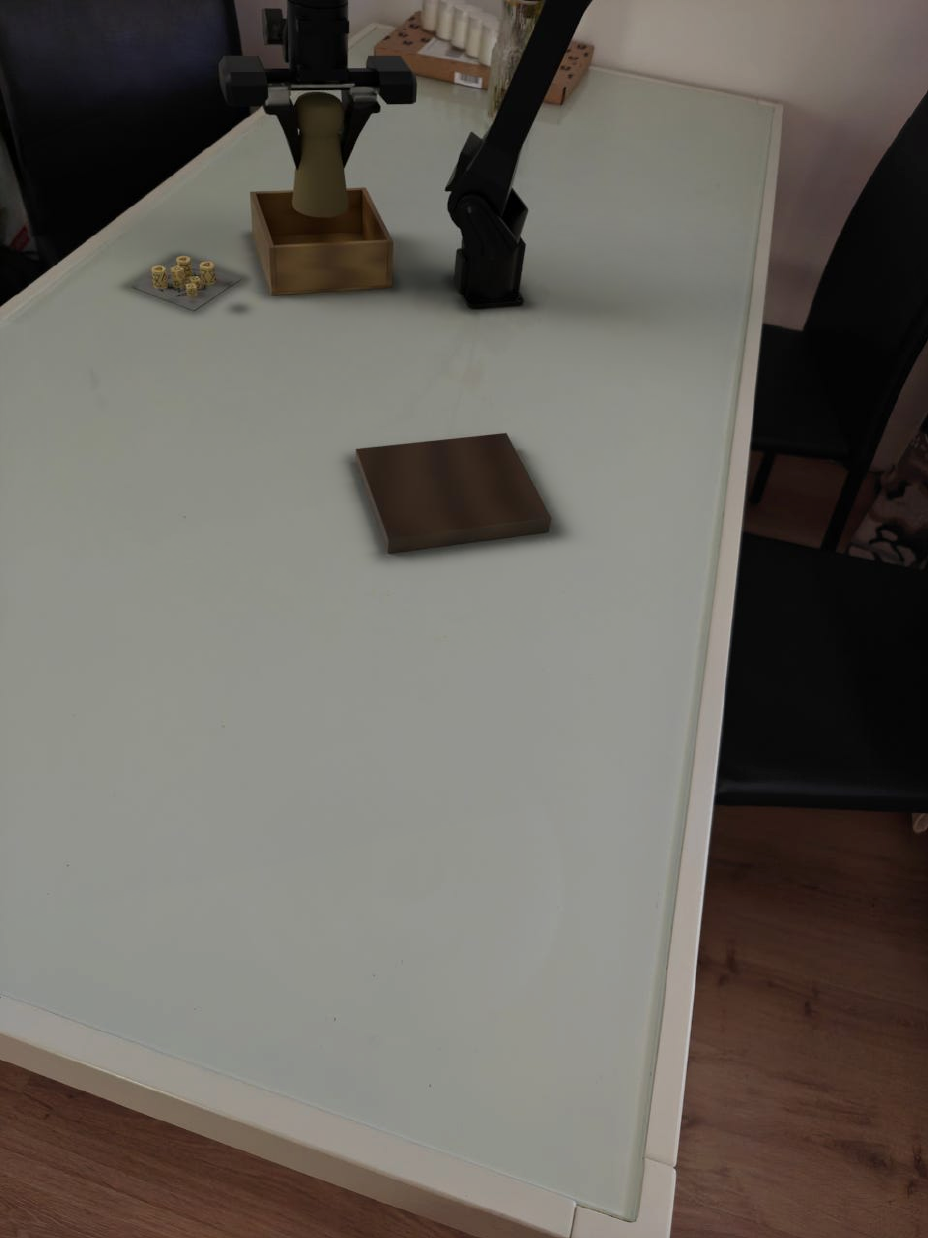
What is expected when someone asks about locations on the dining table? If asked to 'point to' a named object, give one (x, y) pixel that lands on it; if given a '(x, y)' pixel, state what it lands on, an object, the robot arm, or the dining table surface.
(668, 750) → the dining table surface
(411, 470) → the walnut board
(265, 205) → the wooden box
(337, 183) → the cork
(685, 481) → the dining table surface
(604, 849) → the dining table surface
